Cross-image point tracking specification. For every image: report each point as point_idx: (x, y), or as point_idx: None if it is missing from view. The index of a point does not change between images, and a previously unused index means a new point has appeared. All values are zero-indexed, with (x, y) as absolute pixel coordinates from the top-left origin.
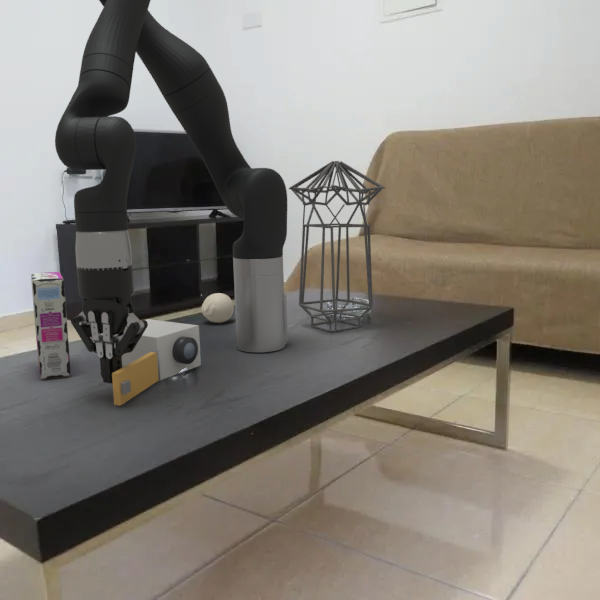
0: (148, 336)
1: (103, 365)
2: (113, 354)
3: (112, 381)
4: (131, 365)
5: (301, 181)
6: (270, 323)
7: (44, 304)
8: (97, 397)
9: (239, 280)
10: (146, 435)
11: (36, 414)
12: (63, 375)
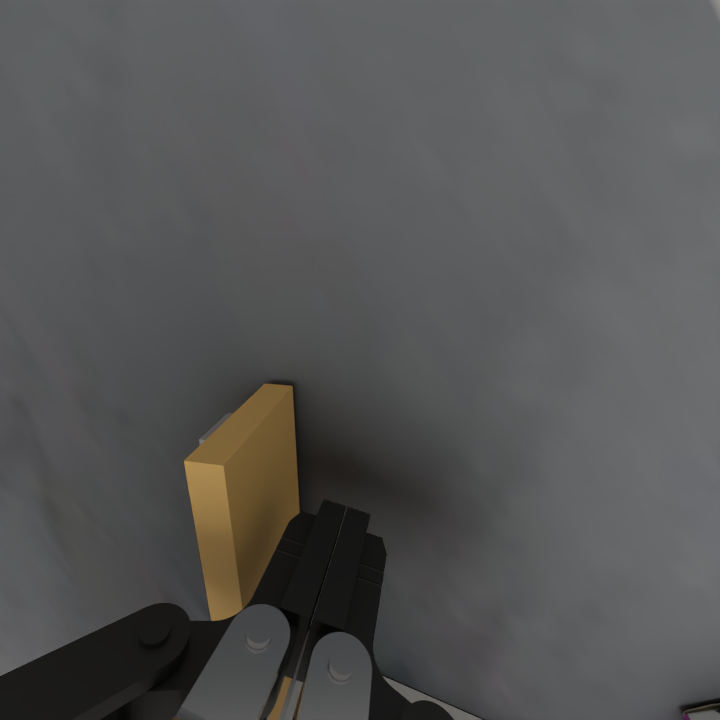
0: None
1: (341, 582)
2: (228, 634)
3: (247, 440)
4: (213, 592)
5: None
6: None
7: None
8: (433, 489)
9: None
10: (3, 106)
11: (625, 263)
12: (716, 713)
